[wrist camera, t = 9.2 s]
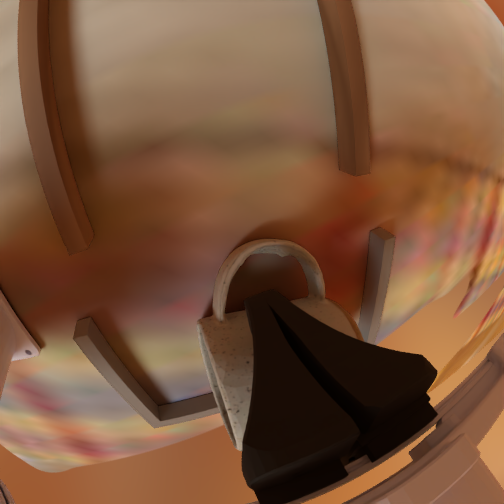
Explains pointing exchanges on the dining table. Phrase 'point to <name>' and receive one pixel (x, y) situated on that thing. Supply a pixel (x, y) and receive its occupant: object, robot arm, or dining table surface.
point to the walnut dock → (52, 142)
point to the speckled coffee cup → (239, 335)
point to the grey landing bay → (206, 404)
